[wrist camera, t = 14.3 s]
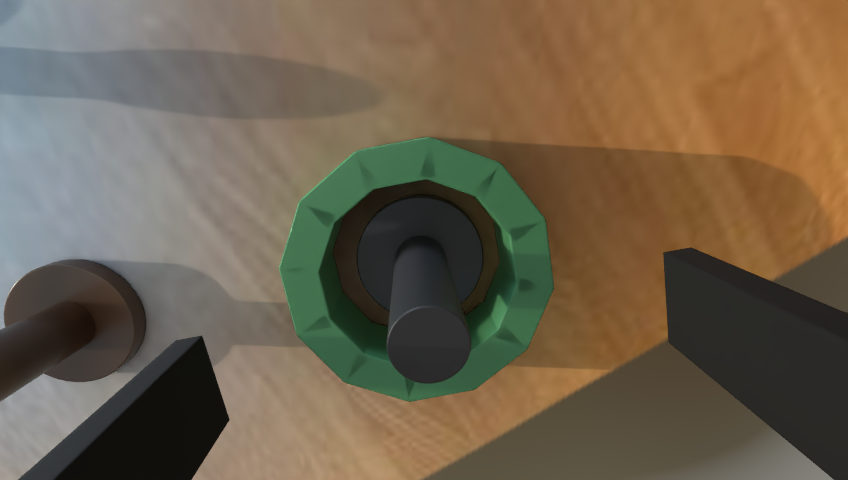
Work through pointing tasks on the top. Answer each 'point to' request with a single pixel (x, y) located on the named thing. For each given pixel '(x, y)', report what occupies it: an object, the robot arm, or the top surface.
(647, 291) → the top surface
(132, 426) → the robot arm
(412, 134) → the top surface
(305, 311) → the ring
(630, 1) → the top surface
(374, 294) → the charcoal peg
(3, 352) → the walnut peg
